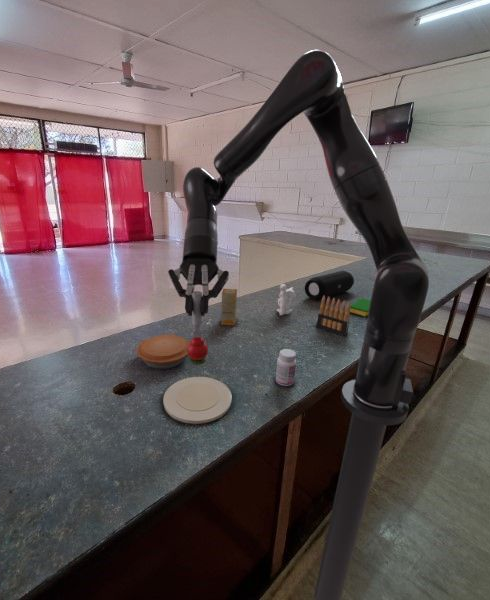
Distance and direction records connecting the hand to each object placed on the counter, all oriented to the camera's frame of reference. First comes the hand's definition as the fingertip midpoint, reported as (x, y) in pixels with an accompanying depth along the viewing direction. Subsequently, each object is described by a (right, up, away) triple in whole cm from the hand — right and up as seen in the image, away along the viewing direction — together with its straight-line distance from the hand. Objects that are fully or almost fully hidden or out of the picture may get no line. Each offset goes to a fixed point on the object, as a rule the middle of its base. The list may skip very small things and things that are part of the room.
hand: (196, 314), depth 64 cm
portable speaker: (+54, +5, +81) cm, 98 cm away
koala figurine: (+29, -2, +60) cm, 67 cm away
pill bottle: (+21, -18, +18) cm, 33 cm away
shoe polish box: (+7, -5, +51) cm, 52 cm away
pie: (-11, -14, +27) cm, 32 cm away
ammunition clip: (+43, -8, +47) cm, 64 cm away
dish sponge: (+63, -1, +65) cm, 91 cm away
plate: (-1, -21, +10) cm, 23 cm away
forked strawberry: (0, -11, +6) cm, 12 cm away
